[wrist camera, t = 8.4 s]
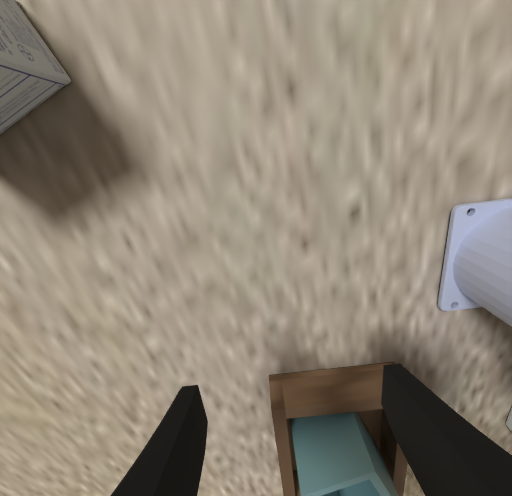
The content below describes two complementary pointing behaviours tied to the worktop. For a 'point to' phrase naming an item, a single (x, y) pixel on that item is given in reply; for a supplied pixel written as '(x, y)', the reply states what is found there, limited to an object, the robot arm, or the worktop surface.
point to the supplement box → (509, 420)
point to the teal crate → (339, 457)
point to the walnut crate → (332, 402)
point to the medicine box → (24, 66)
